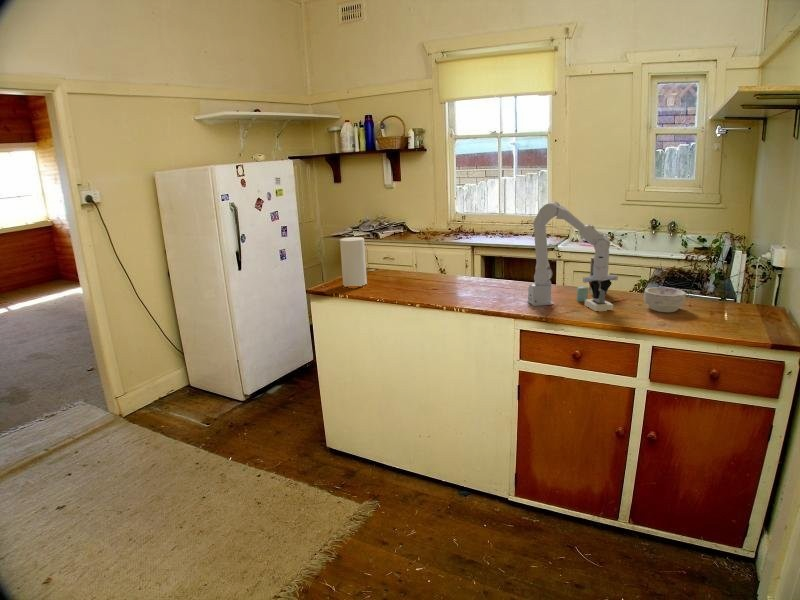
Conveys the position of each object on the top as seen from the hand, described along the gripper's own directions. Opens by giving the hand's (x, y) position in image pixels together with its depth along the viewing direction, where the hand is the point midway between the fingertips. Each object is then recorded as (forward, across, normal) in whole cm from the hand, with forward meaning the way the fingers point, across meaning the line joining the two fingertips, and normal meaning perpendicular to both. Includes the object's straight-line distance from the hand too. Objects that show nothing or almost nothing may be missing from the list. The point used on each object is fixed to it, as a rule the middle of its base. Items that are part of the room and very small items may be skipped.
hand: (599, 297), depth 221 cm
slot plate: (+4, 0, 0) cm, 4 cm away
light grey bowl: (+5, +24, -9) cm, 26 cm away
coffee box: (+4, +10, +21) cm, 24 cm away
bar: (+4, 0, 0) cm, 4 cm away
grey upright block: (+4, -2, +12) cm, 13 cm away
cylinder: (+4, -100, +70) cm, 122 cm away
